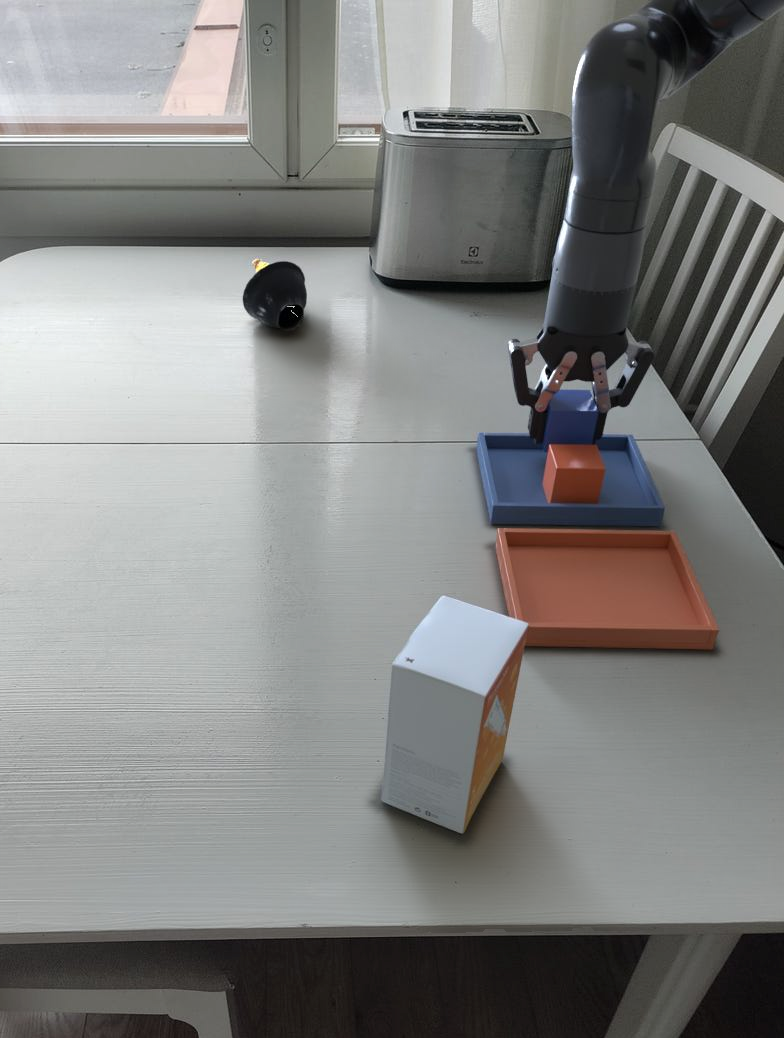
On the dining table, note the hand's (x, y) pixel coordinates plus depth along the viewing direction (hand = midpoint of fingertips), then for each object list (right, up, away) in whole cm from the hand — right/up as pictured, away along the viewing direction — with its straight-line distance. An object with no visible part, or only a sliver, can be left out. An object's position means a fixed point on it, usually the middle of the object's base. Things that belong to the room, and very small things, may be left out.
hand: (563, 440), depth 100 cm
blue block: (0, 0, 0) cm, 0 cm away
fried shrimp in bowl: (-31, +24, +35) cm, 52 cm away
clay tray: (-1, -16, -14) cm, 21 cm away
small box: (-16, -30, -30) cm, 46 cm away
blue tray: (0, -5, 0) cm, 5 cm away
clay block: (0, -6, -3) cm, 7 cm away
